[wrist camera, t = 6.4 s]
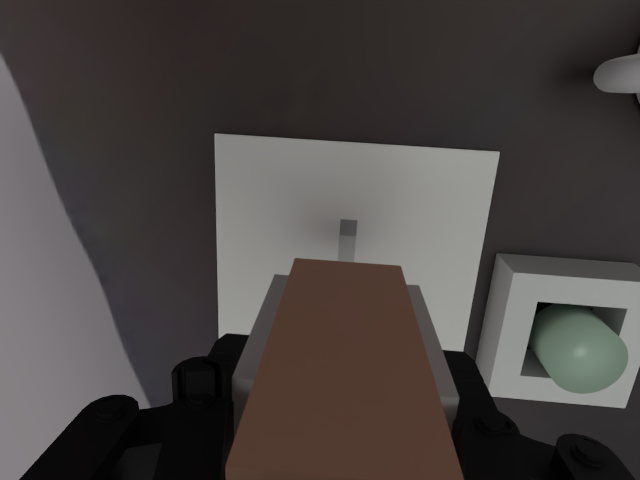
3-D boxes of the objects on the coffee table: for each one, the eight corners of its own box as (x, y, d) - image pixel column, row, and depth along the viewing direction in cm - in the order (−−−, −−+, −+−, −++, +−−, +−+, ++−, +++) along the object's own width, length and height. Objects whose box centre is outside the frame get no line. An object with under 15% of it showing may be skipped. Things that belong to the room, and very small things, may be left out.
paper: (216, 133, 26) (214, 133, 25) (498, 151, 25) (500, 152, 25) (221, 416, 32) (220, 419, 32) (445, 437, 32) (446, 440, 31)
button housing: (496, 252, 27) (513, 272, 24) (633, 263, 27) (667, 284, 24) (474, 366, 30) (487, 395, 27) (598, 377, 29) (625, 408, 26)
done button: (534, 299, 26) (557, 325, 23) (606, 304, 26) (638, 331, 23) (521, 358, 27) (540, 390, 24) (588, 364, 27) (616, 396, 24)
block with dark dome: (294, 257, 17) (197, 547, 6) (400, 265, 17) (493, 576, 6) (291, 349, 18) (205, 723, 7) (389, 357, 18) (449, 752, 7)
